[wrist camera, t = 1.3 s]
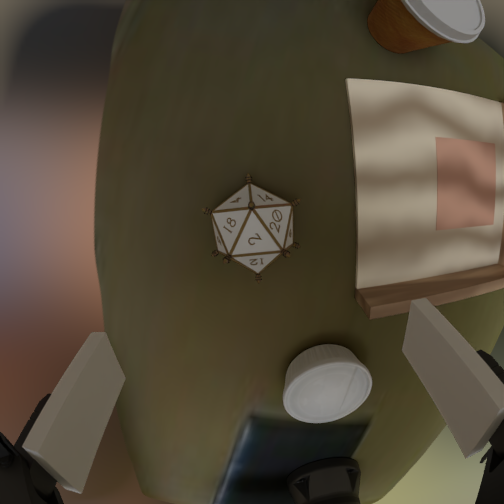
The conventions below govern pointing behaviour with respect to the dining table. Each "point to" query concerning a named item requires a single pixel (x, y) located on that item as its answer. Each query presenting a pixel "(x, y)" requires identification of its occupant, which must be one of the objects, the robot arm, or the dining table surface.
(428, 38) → the disposable coffee cup
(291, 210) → the game die
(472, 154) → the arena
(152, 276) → the dining table surface
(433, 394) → the robot arm
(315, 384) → the ramekin
